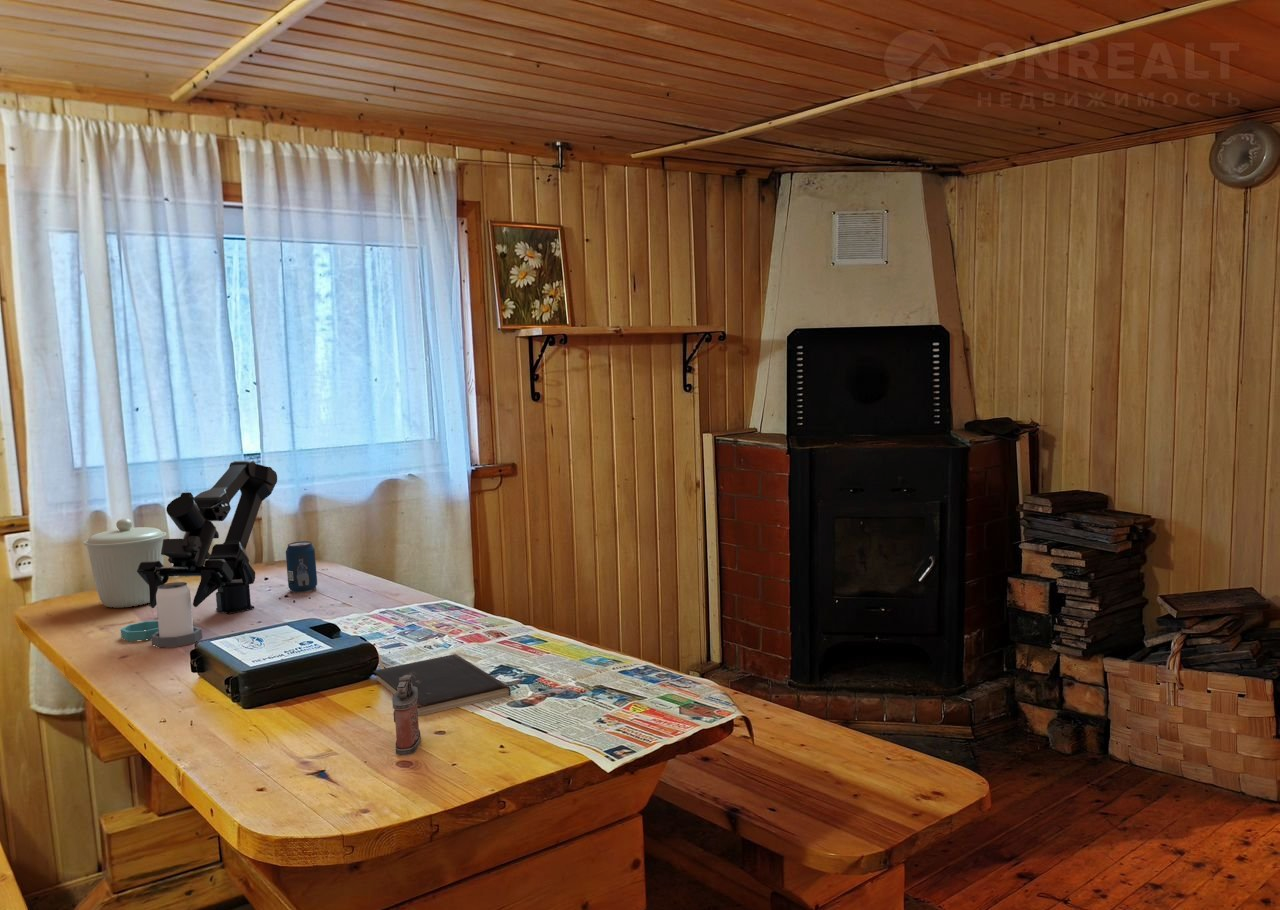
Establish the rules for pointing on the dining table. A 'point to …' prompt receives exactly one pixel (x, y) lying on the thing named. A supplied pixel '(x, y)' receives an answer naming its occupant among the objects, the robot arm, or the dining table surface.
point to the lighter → (406, 717)
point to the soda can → (301, 567)
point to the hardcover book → (444, 683)
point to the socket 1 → (139, 631)
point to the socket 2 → (176, 639)
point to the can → (174, 610)
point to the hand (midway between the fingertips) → (173, 606)
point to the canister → (123, 562)
